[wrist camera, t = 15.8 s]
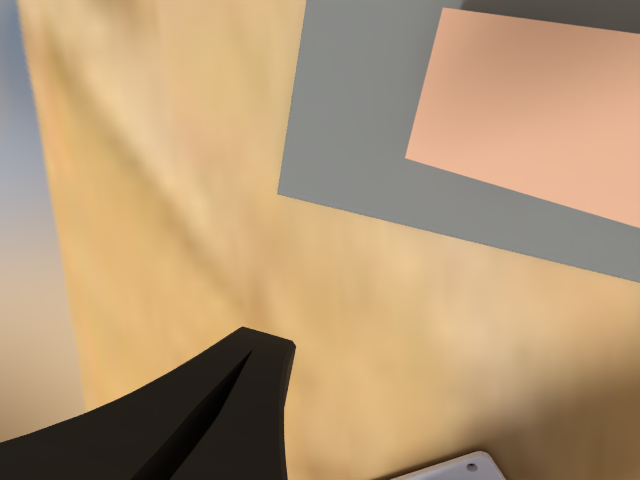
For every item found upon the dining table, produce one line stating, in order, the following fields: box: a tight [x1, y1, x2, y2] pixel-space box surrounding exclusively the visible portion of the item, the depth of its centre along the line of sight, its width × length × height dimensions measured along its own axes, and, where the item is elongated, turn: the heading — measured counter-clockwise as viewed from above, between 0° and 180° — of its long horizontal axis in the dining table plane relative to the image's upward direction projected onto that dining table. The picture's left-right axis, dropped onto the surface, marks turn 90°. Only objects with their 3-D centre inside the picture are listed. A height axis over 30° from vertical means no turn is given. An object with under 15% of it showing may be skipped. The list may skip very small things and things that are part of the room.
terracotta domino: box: [405, 8, 640, 228], centre depth 15 cm, size 2×5×9 cm
